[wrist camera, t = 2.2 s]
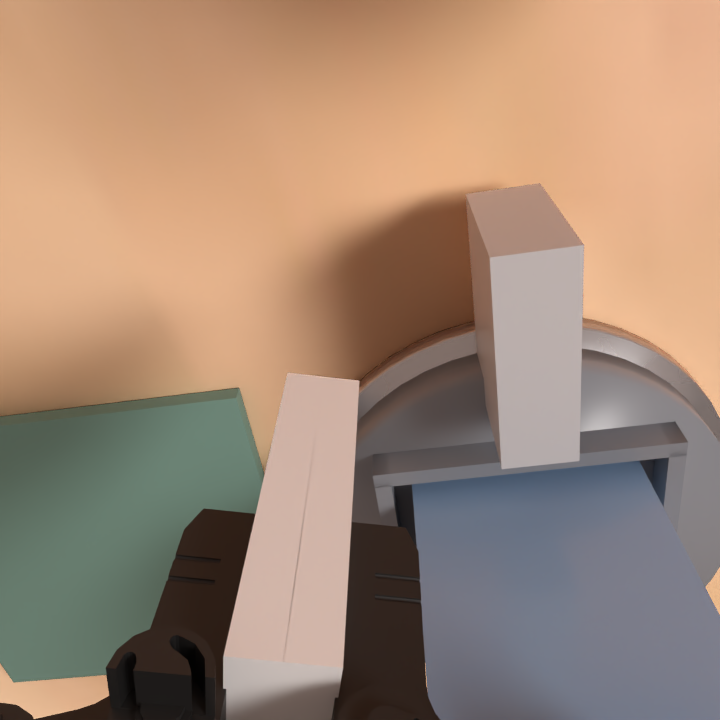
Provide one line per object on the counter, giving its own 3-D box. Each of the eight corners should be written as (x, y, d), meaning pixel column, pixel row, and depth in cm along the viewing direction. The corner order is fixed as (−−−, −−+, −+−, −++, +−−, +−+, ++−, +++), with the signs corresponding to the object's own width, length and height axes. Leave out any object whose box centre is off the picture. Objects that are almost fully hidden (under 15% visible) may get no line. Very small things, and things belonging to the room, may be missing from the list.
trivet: (19, 670, 32) (13, 682, 31) (-140, 433, 24) (-150, 443, 24) (314, 645, 30) (313, 657, 30) (239, 388, 23) (235, 397, 23)
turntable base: (345, 635, 30) (345, 651, 29) (272, 345, 22) (269, 357, 22) (696, 605, 29) (705, 621, 28) (747, 285, 21) (761, 296, 20)
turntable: (354, 649, 29) (352, 755, 25) (250, 224, 19) (220, 293, 15) (696, 621, 27) (748, 728, 24) (772, 150, 18) (881, 205, 14)
